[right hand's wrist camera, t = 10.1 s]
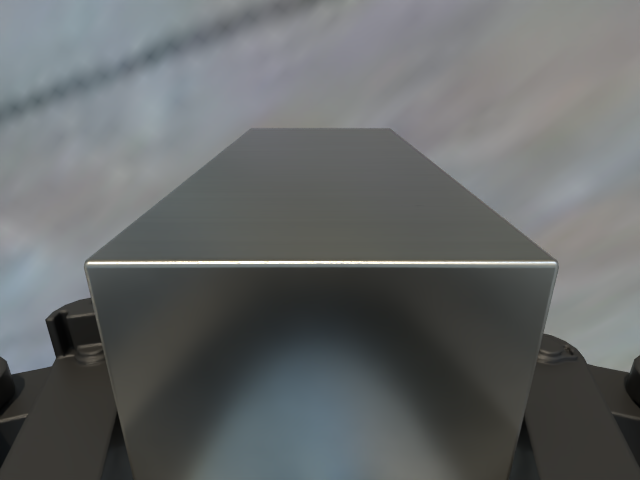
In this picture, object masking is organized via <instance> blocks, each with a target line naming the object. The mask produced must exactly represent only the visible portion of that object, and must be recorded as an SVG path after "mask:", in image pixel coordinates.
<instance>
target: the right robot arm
mask: <svg viewBox="0 0 640 480" xmlns="http://www.w3.org/2000/svg"><path fill="white" fill-rule="evenodd" d="M46 324H47V327H48V331H49V334H50V338H51V341H52V345H53V348H54V352H55V355H56V360H55V362H54V364H53V365H52V366H51V367H47V368H42V369H37V370H32V371H27V372H22V373H17V374H12V375H11V373H10V370H9V367H8V364H7V361H6V360H4V359H3V358H2V357H0V480H134V479H133V475H132V471H131V466H130V462H129V458H128V454H127V449H126V445H125V441H124V436H123V432H122V428H121V424H120V419H119V415H118V411H117V406H116V402H115V398H114V394H113V389H112V385H111V381H110V376H109V372H108V368H107V364H106V359H105V355H104V351H103V346H102V342H101V338H100V334H99V329H98V325H97V321H96V316H95V312H94V308H93V304H92V299H91V298H87V299H82V300H78V301H75V302H73V303H70V304H67V305H65V306H63V307H61V308H59V309H58V310H56V311H54V312H53V313H52V314H51V315H50V316H49V317H48V318H47V319H46ZM509 480H640V356H638V357H637V358H636V359H634V362H633V365H632V368H631V371H630V373H628V372H623V371H618V370H613V369H607V368H602V367H597V366H593V365H589V364H587V363H586V361H585V359H584V357H583V356H582V355H581V353H580V352H579V351H578V350H577V349H576V348H575V347H573V346H572V345H570V344H569V343H567V342H566V341H563V340H561V339H559V338H556V337H554V336H551V335H547V334H543V336H542V341H541V345H540V349H539V353H538V358H537V362H536V366H535V370H534V374H533V379H532V383H531V387H530V391H529V396H528V400H527V404H526V408H525V413H524V417H523V421H522V425H521V430H520V434H519V438H518V442H517V446H516V451H515V455H514V459H513V463H512V468H511V472H510V476H509Z"/></svg>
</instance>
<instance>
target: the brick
mask: <svg viewBox="0 0 640 480" xmlns="http://www.w3.org/2000/svg"><path fill="white" fill-rule="evenodd" d="M84 269H85V274H86V278H87V282H88V286H89V291H90V295H91V299H92V304H93V308H94V312H95V316H96V321H97V325H98V329H99V334H100V338H101V342H102V346H103V351H104V355H105V359H106V364H107V368H108V372H109V376H110V381H111V385H112V389H113V394H114V398H115V402H116V406H117V411H118V415H119V419H120V424H121V428H122V432H123V436H124V441H125V445H126V449H127V454H128V458H129V462H130V466H131V471H132V475H133V479H134V480H509V476H510V472H511V468H512V463H513V459H514V455H515V451H516V446H517V442H518V438H519V434H520V430H521V425H522V421H523V417H524V413H525V408H526V404H527V400H528V396H529V391H530V387H531V383H532V379H533V374H534V370H535V366H536V362H537V358H538V353H539V349H540V345H541V341H542V336H543V332H544V328H545V324H546V319H547V315H548V311H549V307H550V302H551V298H552V294H553V290H554V286H555V281H556V277H557V273H558V269H559V266H558V262H557V260H556V259H554V258H553V257H552V256H551V255H549V254H548V253H547V252H546V251H544V250H543V249H542V248H541V247H539V246H538V245H537V244H535V243H534V242H533V241H532V240H530V239H529V238H528V237H527V236H525V235H524V234H523V233H522V232H520V231H519V230H518V229H516V228H515V227H514V226H513V225H511V224H510V223H509V222H508V221H506V220H505V219H504V218H503V217H501V216H500V215H499V214H498V213H496V212H495V211H494V210H492V209H491V208H490V207H489V206H487V205H486V204H485V203H484V202H482V201H481V200H480V199H479V198H477V197H476V196H475V195H474V194H472V193H471V192H470V191H468V190H467V189H466V188H465V187H463V186H462V185H461V184H460V183H458V182H457V181H456V180H455V179H453V178H452V177H451V176H449V175H448V174H447V173H446V172H444V171H443V170H442V169H441V168H439V167H438V166H437V165H436V164H434V163H433V162H432V161H431V160H429V159H428V158H427V157H425V156H424V155H423V154H422V153H420V152H419V151H418V150H417V149H415V148H414V147H413V146H412V145H410V144H409V143H408V142H407V141H405V140H404V139H403V138H401V137H400V136H399V135H398V134H396V133H395V132H394V131H393V130H391V129H389V128H251V129H250V130H248V131H247V132H246V133H245V134H243V135H242V136H241V137H240V138H238V139H237V140H236V141H235V142H233V143H232V144H231V145H230V146H228V147H227V148H226V149H225V150H223V151H222V152H221V153H220V154H218V155H217V156H216V157H215V158H213V159H212V160H211V161H210V162H208V163H207V164H206V165H205V166H203V167H202V168H201V169H200V170H198V171H197V172H196V173H195V174H193V175H192V176H191V177H190V178H188V179H187V180H186V181H185V182H183V183H182V184H181V185H180V186H178V187H177V188H176V189H175V190H173V191H172V192H171V193H170V194H168V195H167V196H166V197H165V198H163V199H162V200H161V201H160V202H158V203H157V204H156V205H155V206H153V207H152V208H151V209H150V210H148V211H147V212H146V213H145V214H143V215H142V216H141V217H140V218H138V219H137V220H136V221H135V222H133V223H132V224H131V225H130V226H128V227H127V228H126V229H125V230H123V231H122V232H121V233H120V234H118V235H117V236H116V237H115V238H113V239H112V240H111V241H110V242H108V243H107V244H106V245H105V246H103V247H102V248H101V249H100V250H98V251H97V252H96V253H95V254H93V255H92V256H91V257H90V258H88V259H87V260H86V261H85V264H84Z"/></svg>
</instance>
